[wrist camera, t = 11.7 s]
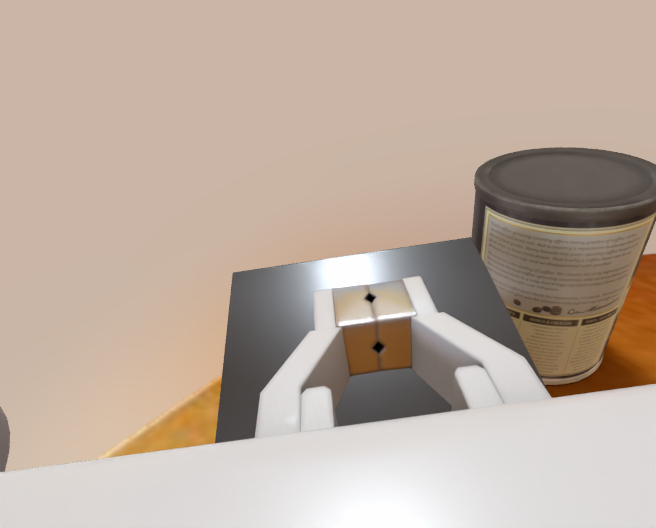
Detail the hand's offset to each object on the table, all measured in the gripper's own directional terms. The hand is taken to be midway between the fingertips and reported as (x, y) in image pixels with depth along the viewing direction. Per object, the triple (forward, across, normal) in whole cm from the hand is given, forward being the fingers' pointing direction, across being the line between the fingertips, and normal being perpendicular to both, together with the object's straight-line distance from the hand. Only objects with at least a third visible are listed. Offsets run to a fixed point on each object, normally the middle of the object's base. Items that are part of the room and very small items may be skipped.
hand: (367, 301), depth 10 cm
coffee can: (+13, -14, +17) cm, 26 cm away
